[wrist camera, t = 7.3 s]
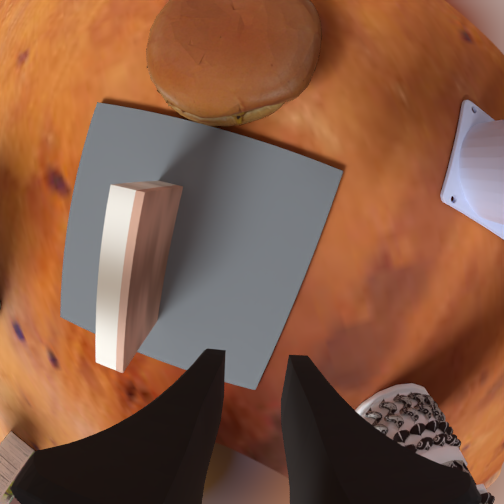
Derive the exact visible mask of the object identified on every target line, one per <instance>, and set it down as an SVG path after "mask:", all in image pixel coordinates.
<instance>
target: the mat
mask: <svg viewBox="0 0 504 504" xmlns="http://www.w3.org/2000/svg"><path fill="white" fill-rule="evenodd" d="M342 173H343V171H342V170H339V169H337V168H334V167H332V166H329V165H327V164H324V163H321V162H319V161H316V160H314V159H311V158H308V157H305V156H303V155H300V154H297V153H294V152H292V151H289V150H286V149H283V148H280V147H277V146H274V145H271V144H268V143H265V142H262V141H259V140H256V139H253V138H249V137H246V136H243V135H239V134H236V133H233V132H229V131H226V130H222V129H219V128H215V127H211V126H208V125H204V124H200V123H196V122H192V121H188V120H184V119H180V118H176V117H172V116H167V115H163V114H158V113H153V112H149V111H144V110H139V109H134V108H128V107H123V106H117V105H111V104H105V103H98V102H97V105H96V108H95V111H94V114H93V117H92V120H91V124H90V127H89V130H88V134H87V137H86V141H85V144H84V148H83V152H82V156H81V160H80V164H79V168H78V172H77V177H76V181H75V186H74V191H73V196H72V202H71V207H70V213H69V220H68V226H67V234H66V241H65V250H64V260H63V271H62V286H61V316H60V317H62V318H64V319H66V320H68V321H70V322H72V323H74V324H76V325H78V326H80V327H82V328H84V329H86V330H88V331H90V332H92V333H95V334H96V302H97V285H98V272H99V261H100V252H101V243H102V235H103V228H104V221H105V214H106V208H107V202H108V196H109V191H110V186H111V184H121V183H132V182H145V181H162V182H166V183H171V184H175V185H179V186H183V190H182V194H181V198H180V203H179V207H178V212H177V216H176V221H175V225H174V230H173V235H172V240H171V245H170V250H169V255H168V260H167V265H166V271H165V276H164V282H163V288H162V294H161V300H160V306H159V313H158V320H157V322H156V324H155V325H154V327H153V328H152V330H151V331H150V333H149V334H148V336H147V337H146V339H145V340H144V342H143V343H142V345H141V346H140V348H139V349H138V351H137V352H139V353H141V354H144V355H146V356H149V357H152V358H154V359H157V360H160V361H162V362H165V363H168V364H171V365H174V366H176V367H179V368H182V369H185V370H188V369H189V368H190V366H191V365H192V364H193V363H194V362H195V361H196V360H197V359H198V357H199V356H200V355H201V354H202V352H203V351H204V350H206V349H207V348H209V349H218V350H226V353H225V378H224V382H227V383H231V384H234V385H238V386H241V387H245V388H249V389H253V390H255V389H256V387H257V385H258V383H259V381H260V379H261V377H262V374H263V372H264V370H265V368H266V366H267V363H268V361H269V359H270V357H271V355H272V352H273V350H274V348H275V346H276V343H277V341H278V339H279V336H280V334H281V332H282V330H283V327H284V325H285V323H286V320H287V318H288V315H289V313H290V311H291V308H292V306H293V304H294V301H295V299H296V296H297V294H298V291H299V289H300V286H301V284H302V282H303V279H304V277H305V274H306V271H307V269H308V266H309V264H310V261H311V259H312V256H313V254H314V251H315V248H316V246H317V243H318V240H319V238H320V235H321V232H322V230H323V227H324V224H325V222H326V219H327V216H328V213H329V211H330V208H331V205H332V202H333V199H334V197H335V194H336V191H337V188H338V185H339V182H340V179H341V176H342Z"/></svg>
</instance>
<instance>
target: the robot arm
mask: <svg viewBox="0 0 504 504" xmlns="http://www.w3.org/2000/svg"><path fill="white" fill-rule="evenodd" d="M472 109H473V111H474V113H473V111H472ZM440 196H441V200H442V201H443V202H444V203H446V204H447V205H449V206H451V207H453V208H454V209H456V210H458V211H459V212H461V213H463V214H464V215H466V216H468V217H469V218H471V219H473V220H474V221H476V222H477V223H479V224H481V225H482V226H484V227H485V228H487V229H488V230H490V231H491V232H493V233H494V234H496V235H497V236H499V237H500V238H502V239H503V240H504V120H497V121H495V120H494V119H492V118H491V117H490V116H489V115H488V114H486V113H485V112H484V111H483V110H481V109H480V108H479V107H478V106H476V105H475V104H474V103H472V102H471V101H470V100H464V101H463V102H462V106H461V111H460V117H459V122H458V127H457V132H456V137H455V141H454V146H453V150H452V154H451V158H450V162H449V166H448V169H447V173H446V177H445V180H444V184H443V187H442V190H441V195H440ZM452 196H453V201H452V202H451V197H452ZM225 353H226V350H218V349H209V348H207V349H206V350H204V351H203V352H202V354H201V355H200V356H199V357H198V359H197V360H196V361H195V362H194V363H193V364H192V365H191V366H190V368H189V369H188V370H187V371H186V372H185V373H184V374H183V375H182V376H181V377H180V378H179V379H178V380H177V381H176V382H175V383H174V384H173V385H171V386H170V387H169V388H168V389H167V390H166V391H164V392H163V393H162V394H161V395H160V396H159V397H157V398H156V399H155V400H154V401H152V402H151V403H150V404H148V405H147V406H145V407H144V408H143V409H141V410H140V411H138V412H137V413H135V414H133V415H132V416H130V417H128V418H127V419H125V420H123V421H121V422H120V423H118V424H116V425H114V426H112V427H110V428H108V429H106V430H104V431H101V432H99V433H97V434H94V435H92V436H89V437H87V438H84V439H81V440H78V441H75V442H72V443H69V444H65V445H61V446H57V447H52V448H48V449H44V450H38V451H35V452H34V453H33V454H32V456H31V457H30V458H29V460H28V461H27V462H26V464H25V465H24V467H23V468H22V470H21V471H20V473H19V475H18V476H17V478H16V479H15V481H14V483H13V484H12V486H11V491H12V493H13V495H14V497H15V498H16V499H17V500H18V501H19V502H20V503H21V504H202V497H203V490H204V483H205V478H206V474H207V469H208V466H209V462H210V458H211V455H212V451H213V447H214V444H215V440H216V436H217V432H218V428H219V425H220V421H221V414H222V406H223V399H224V378H225ZM281 425H282V433H283V440H284V447H285V454H286V461H287V468H288V475H289V485H290V504H480V502H481V499H482V497H481V495H480V493H479V491H478V489H477V487H476V485H475V483H474V481H473V480H472V478H471V476H470V474H469V473H467V472H464V471H461V470H457V469H454V468H451V467H448V466H445V465H442V464H439V463H437V462H434V461H432V460H430V459H428V458H425V457H423V456H421V455H419V454H417V453H415V452H413V451H411V450H409V449H407V448H406V447H404V446H402V445H400V444H399V443H397V442H396V441H394V440H392V439H391V438H389V437H388V436H386V435H385V434H383V433H382V432H380V431H379V430H378V429H376V428H375V427H374V426H373V425H371V424H370V423H369V422H368V421H366V420H365V419H364V418H363V417H362V416H360V415H359V414H358V413H357V412H356V411H355V410H354V409H353V408H352V407H351V406H350V405H349V404H348V403H347V402H346V401H345V400H344V399H343V398H342V397H341V396H340V395H339V394H338V393H337V391H336V390H335V389H334V388H333V387H332V386H331V385H330V383H329V382H328V381H327V380H326V379H325V377H324V376H323V375H322V374H321V372H320V371H319V370H318V368H317V367H316V366H315V365H314V363H313V362H312V361H311V359H310V358H309V357H308V356H301V355H289V359H288V365H287V370H286V376H285V382H284V387H283V393H282V398H281Z"/></svg>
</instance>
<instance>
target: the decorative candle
mask: <svg viewBox="0 0 504 504" xmlns="http://www.w3.org/2000/svg"><path fill="white" fill-rule="evenodd" d="M355 411H356V412H357V413H358V414H359V415H360V416H362V417H363V418H364V419H365V420H366V421H368V422H369V423H370V424H371V425H373V426H374V427H375V428H376V429H378V430H379V431H380V432H382V433H383V434H385V435H386V436H388V437H389V438H391V439H392V440H394V441H396V442H397V443H399V444H400V445H402V446H404V447H406V448H407V449H409V450H411V451H413V452H415V453H417V454H419V455H421V456H423V457H425V458H428V459H430V460H432V461H434V462H437V463H439V464H442V465H445V466H448V467H451V468H454V469H457V470H461V471H464V472H467V473H469V474H470V472H469V470H468V468H467V467H466V466H467V462H466V460H465V458H464V457H463V455H462V453H461V452H460V448H459V447H460V445H461V441H460V440H459V439H457V436H456V435H454V434H452V433H453V429H452V427H449V423H448V422H445V415H444V414H443V412H441V410H440V409H439V408H438V405H437V403H436V402H435V401H434V400H433V398H432V397H431V396H430V395H429V394H428V392H427V391H426V389H425V388H424V387H423V386H420V385H417V384H414V383H408V384H399V385H394V386H392V387H389V388H387V389H384V390H382V391H379V392H377V393H376V394H374V395H373V396H371V397H370V398H368V399H367V400H365V401H364V402H362V403H361V404H360V405H359V406H358V407H357V408H356V410H355ZM470 476H471V474H470ZM471 478H472V476H471ZM472 480H473V481H474V479H473V478H472ZM474 483H475V481H474ZM475 485H476V483H475ZM476 487H477V489H478V491H479V493H480V495H481V497H482V499H481V502H480V504H493V502H494V500H495V497H494V496H491V494H490V493H488V492H487V490H486V488H485V486H484V485H483V484H480V485H476Z"/></svg>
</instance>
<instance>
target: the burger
mask: <svg viewBox="0 0 504 504" xmlns="http://www.w3.org/2000/svg"><path fill="white" fill-rule="evenodd" d="M321 40H322V32H321V21H320V18H319V14H318V12H317V10H316V8H315V6H314V5H313V3H312V2H311V1H309V0H169V1H168V3H167V4H166V5H165V6H164V8H163V9H162V10H161V11H160V13H159V14H158V16H157V17H156V19H155V21H154V23H153V25H152V27H151V29H150V33H149V39H148V44H147V48H146V56H147V68H148V70H149V74H150V77H151V80H152V81H153V83H154V84H155V86H156V88H157V89H158V90H157V91H158V92H159V93H160V94H161V95H162V96H163V98H164V99H165V101H166V103H168V106H170V107H171V108H172V109H174V110H175V111H176V112H178V113H179V114H180V115H182V116H184V117H186V118H188V119H189V120H192V121H195V122H198V123H202V124H204V125H209V126H234V125H241V124H245V123H249V122H252V121H255V120H258V119H261V118H264V117H266V116H269V115H270V114H272V113H274V112H275V111H276V110H277V109H279V108H280V107H281V106H282V105H283V104H284V103H285V102H286V101H291V100H294V99H295V98H296V97H298V96H299V95H300V94H301V93H302V92H303V91H304V90H305V89H306V87H307V86H308V85H309V83H310V81H311V78H312V75H313V73H314V71H315V68H316V64H317V61H318V58H319V54H320V46H321Z"/></svg>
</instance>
